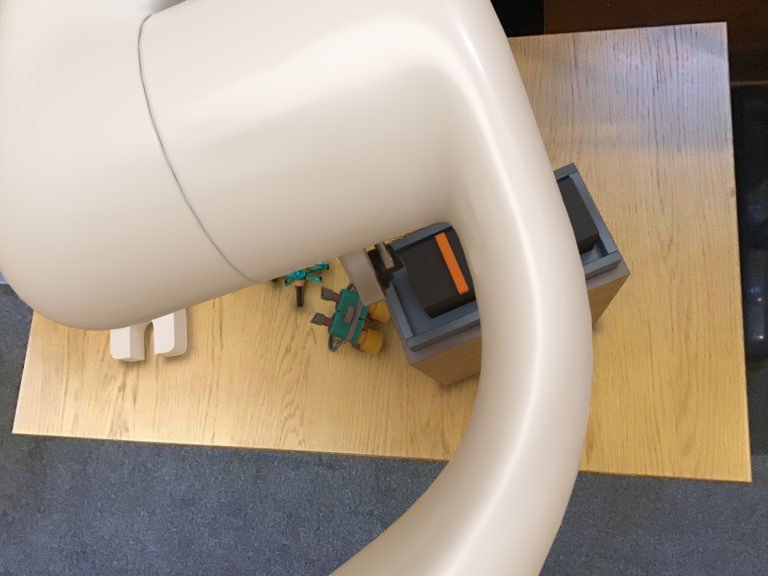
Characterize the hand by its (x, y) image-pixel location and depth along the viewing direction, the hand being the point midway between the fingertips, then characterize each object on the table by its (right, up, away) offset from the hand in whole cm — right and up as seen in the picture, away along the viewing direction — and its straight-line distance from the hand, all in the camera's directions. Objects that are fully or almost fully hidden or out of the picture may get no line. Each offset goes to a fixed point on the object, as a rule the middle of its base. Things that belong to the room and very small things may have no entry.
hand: (356, 209), depth 45 cm
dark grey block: (+15, -1, +11) cm, 19 cm away
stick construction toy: (-11, -4, +46) cm, 47 cm away
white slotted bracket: (-31, -7, +50) cm, 59 cm away
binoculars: (-1, -10, +42) cm, 44 cm away
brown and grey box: (+17, -9, +39) cm, 43 cm away
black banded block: (+8, -4, +12) cm, 15 cm away
